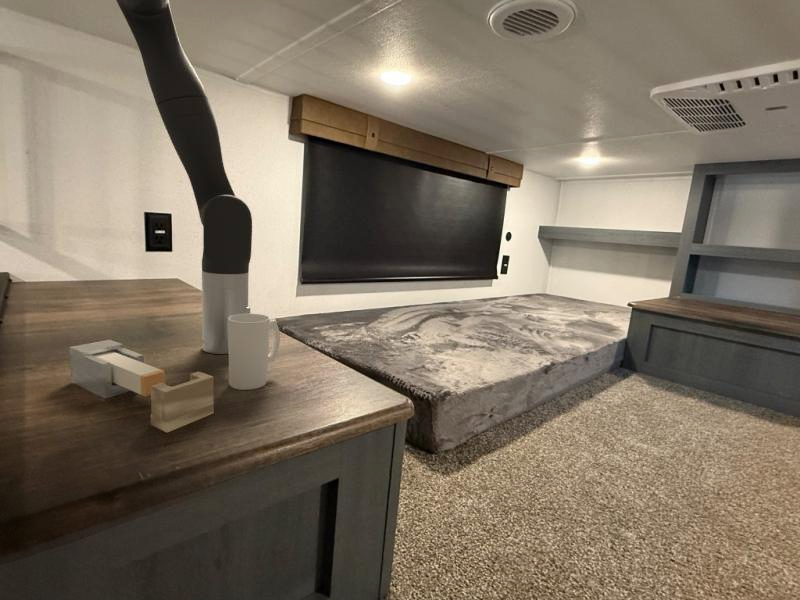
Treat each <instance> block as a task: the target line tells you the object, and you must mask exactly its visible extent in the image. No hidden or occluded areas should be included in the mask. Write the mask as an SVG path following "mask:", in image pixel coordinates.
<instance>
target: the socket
mask: <svg viewBox="0 0 800 600" xmlns="http://www.w3.org/2000/svg"><path fill="white" fill-rule="evenodd" d="M214 395H215V394H214V375H210V374H206V373H205V372H201V371H195V372H191V373H190V374H189V381H186V382H182V383H180V384H177V385H176V384H175V385H174V386H170V385H167V384H166V383H165V384H163V383H159V384H156V385H152V386H151V395H150V400H151V402H150V404H151V406H150V407H151V414H150V426H152V427H154V428H156V429H159V430H160V431H162V432H164V433H169V432H172V431H174V430H177V429H179V428H182V427H185V426H186V425H189V424H191V423H193V422H196V421H199V420H201V419H203V418H205V417H208V416H210V415H212V414H215V413H214V411H215V404H214Z"/></svg>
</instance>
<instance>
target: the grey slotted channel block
mask: <svg viewBox="0 0 800 600" xmlns="http://www.w3.org/2000/svg"><path fill="white" fill-rule="evenodd" d="M123 345H124V344H123V343H120V342H117V341H115V340H112V339H106V340H99V341H95V342H90V343H84V344H78V345H74V346H72V345H71V346H69V347H68V348H69V359H70V373H71V374H70V375H71V383H72V384H74V385H75V386H78V387H80V388H82V389H84V390H86V391H89V392H90V393H93V394H95V395H96V396H99V397H100V398H103V399H104V400H105V399H108V398H112V397H116V396H120V395H122V394H125V393H129V392H133V391H132V390H129V389H127V388H125V387H123V386H120V385H118V384H116V383H113V382H112V380H111V363H110V362H108V361H105V360H103V359H100V358H98V357H95V356H93V355H90V354H94V353H99V352H104V351H109V350H110V351H113V352H116V353H118V354H121V355H123V356H126V357H129V358H131V359H134V360H137V361H139V362H142V363H145V361H144V354H141V353H138V352H136V351H133V350H131V349H128V348H126V347H123Z"/></svg>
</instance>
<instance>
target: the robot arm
mask: <svg viewBox="0 0 800 600" xmlns="http://www.w3.org/2000/svg"><path fill="white" fill-rule="evenodd" d="M115 1H116V2H117V4H118V7H119V8H120V10H121V11H120V12H122V15H123V17H124V18H125V20H126V22H127V25H128V26H129V29H130V31H131V33H132V36H133V38H134V39H135V42H136V44H137V47H138V49H139V53H140V55H141V59H142V62H143V65H144V71H145V73H146V77H147V81H148V83H149V87H150V89H151V92H152V95H153V99H154V102H155V104H156V107H157V110H158V112H159V114H160V117H161V120H162V123H163V125H164V127H165V130H166V132H167V135H168V137H169V139H170V141H171V143H172V147H173V148H174V150H175V152H176V154H177V156H178V159H179V160H180V162H181V164H182V166H183V168H184V170H185V171H186V174H187V176H188V179H189V183H190V186H191V188H192V191H193V195H194V198H195V202H196V207H197V211H198V215H199V218H200V223H201V224H202V227H203V228H202V229H203V237H202V238H203V240H202V242H203V243H202V244H203V250H202V257H201V311H202V312H201V322H202V323H201V325H202V326H201V327H202V328H201V330H202V331H201V333H202V334H201V335H202V337H201V340H202V345H201V346H202V351H204V352H206V353H208V354H209V353H210V354H217V355H218V354H219V355H229V349H228V317H230V316H232V315H237V314H251V307H250V306H249V274H250V273H249V271H250V270H249V269H250V262H251V258H252V243H253V242H252V241H253V237H252V236H253V217H252V212H251V210H250V208H249V207H248V205H247V203H245V202H244V200H242V199H241V198H239V197H237V196H236V195H235V193H234V190H233V188H232V185H231V183H230V180H229V178H228V175H227V173H226V169H225V165H224V160H223V159H224V158H223V154H222V147H221V141H220V135H219V130H218V126H217V125H218V124H217V122H216V118H215V116H214V113H213V110H212V107H211V104H210V100H209V97H208V95H207V93H206V91H205V88H204V86H203V83H202V81H201V80H200V78H199V76H198V74H197V72H196V70H195V68H194V67H193V65H192V64H191V62H190V60H189V58H188V57H187V55H186V54H185V51H184V49H183V47H182V45H181V42H180V39H179V35H178V33H177V29H176V25H175V22H174V18H173V15H172V11H171V10H172V9H171V6H170V0H115Z"/></svg>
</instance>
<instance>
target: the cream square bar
mask: <svg viewBox="0 0 800 600" xmlns="http://www.w3.org/2000/svg"><path fill="white" fill-rule="evenodd" d="M90 355H93V356H95V357H98V358H100V359H103V360H105V361H108V362H110V363H111V380H112V382H113V383H116V384H118V385H120V386H123V387H125V388H127V389H129V390H132V391H131V392H134V393H135V394H138V395H141V396H143V397H148V396H151V386H152V385H156V384H159V383H163V384H165V385H166V370H163V369H160V368H157V367H155V366H153V365H149V364H148V363H145V362H144V363H142V362H139V361H137V360H134V359H131V358H129V357H126V356H123V355H121V354H118V353H116V352H113V351H110V350H109V351H104V352H99V353H94V354H90Z"/></svg>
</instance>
